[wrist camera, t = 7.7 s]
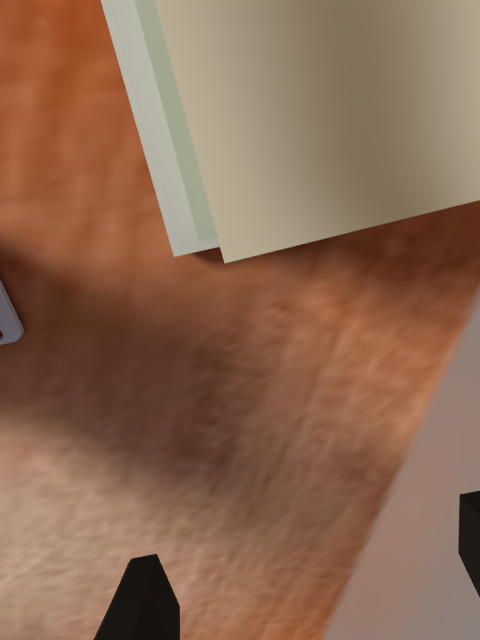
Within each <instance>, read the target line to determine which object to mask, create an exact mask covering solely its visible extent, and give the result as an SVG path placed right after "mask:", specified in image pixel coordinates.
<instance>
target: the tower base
mask: <svg viewBox="0 0 480 640" xmlns="http://www.w3.org/2000/svg"><path fill="white" fill-rule="evenodd" d="M101 3H102V6H103V10H104V13H105V17H106V20H107V24H108V27H109V31H110V34H111V38H112V41H113V45H114V48H115V52H116V55H117V59H118V62H119V66H120V69H121V73H122V76H123V80H124V83H125V87H126V90H127V94H128V97H129V101H130V104H131V108H132V111H133V115H134V118H135V122H136V125H137V129H138V132H139V136H140V139H141V143H142V146H143V150H144V153H145V157H146V160H147V164H148V167H149V171H150V174H151V178H152V181H153V185H154V188H155V192H156V195H157V199H158V202H159V206H160V209H161V213H162V216H163V220H164V223H165V227H166V230H167V234H168V237H169V241H170V244H171V248H172V251H173V255H174V257H175V256H180V255H184V254H189V253H194V252H198V251H203V250H207V249H212V248H216V247H220V245H219V241H218V237H217V238H213V239H209V240H204V241H200V242H199V239H198V236H197V232H196V228H195V225H194V221H193V217H192V213H191V210H190V206H189V202H188V198H187V195H186V191H185V187H184V183H183V180H182V176H181V172H180V169H179V165H178V161H177V157H176V154H175V150H174V146H173V142H172V139H171V135H170V131H169V128H168V124H167V120H166V116H165V113H164V109H163V105H162V101H161V98H160V94H159V90H158V86H157V83H156V79H155V75H154V72H153V68H152V64H151V60H150V57H149V53H148V49H147V45H146V42H145V38H144V34H143V30H142V27H141V23H140V19H139V16H138V12H137V8H136V4H135V1H134V0H101Z"/></svg>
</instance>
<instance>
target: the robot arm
mask: <svg viewBox="0 0 480 640" xmlns="http://www.w3.org/2000/svg"><path fill="white" fill-rule="evenodd" d="M0 331H1V332H2V333H3V336H0V345H3V344H8V343H12V342H15V341H17V340H18V339H19V338H20V337H21V336H22V335H23V332H24V330H23V326H22V324H21V322H20V320H19V318H18V316H17V314H16V311H15V309H14V307H13V305H12V303H11V301H10V299H9V297H8V295H7V293H6V291H5V289H4V286H3V284H2V282H1V280H0ZM459 508H460V509H459V511H460V512H459V551H458V552H459V555H460V557H461V559H462V561H463V564H464V566H465V568H466V570H467V572H468V574H469V576H470V578H471V580H472V583H473V585H474V587H475V588H476V591H477V593H478V595H479V597H480V491H476V492H471V493H466V494H461V495H460V507H459ZM94 640H180V606H179V603H178V601H177V599H176V596H175V594H174V592H173V590H172V587H171V585H170V583H169V581H168V578H167V576H166V574H165V572H164V569H163V567H162V565H161V563H160V560H159V558H158V556H157V554H153V555H148V556H143V557H138V558H133V559H131V560H130V562H129V563H128V566H127V568H126V570H125V572H124V575H123V577H122V579H121V582H120V584H119V586H118V588H117V591H116V593H115V595H114V597H113V599H112V602H111V604H110V606H109V608H108V610H107V613H106V615H105V617H104V619H103V621H102V623H101V625H100V628H99V630H98V632H97V634H96V636H95V638H94Z"/></svg>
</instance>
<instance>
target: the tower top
mask: <svg viewBox="0 0 480 640" xmlns="http://www.w3.org/2000/svg"><path fill="white" fill-rule="evenodd" d="M134 1H135V4H136V8H137V12H138V16H139V19H140V23H141V27H142V30H143V34H144V38H145V42H146V45H147V49H148V53H149V57H150V60H151V64H152V68H153V72H154V75H155V79H156V83H157V86H158V90H159V94H160V98H161V101H162V105H163V109H164V113H165V116H166V120H167V124H168V128H169V131H170V135H171V139H172V142H173V146H174V150H175V154H176V157H177V161H178V165H179V169H180V172H181V176H182V180H183V183H184V187H185V191H186V195H187V198H188V202H189V206H190V210H191V213H192V217H193V221H194V225H195V228H196V232H197V236H198V239H199V242H200V241H204V240H209V239H213V238H217V234H216V230H215V226H214V222H213V219H212V215H211V211H210V207H209V203H208V200H207V196H206V192H205V188H204V185H203V181H202V177H201V173H200V170H199V166H198V162H197V158H196V155H195V151H194V147H193V143H192V140H191V136H190V132H189V128H188V125H187V121H186V117H185V113H184V110H183V106H182V102H181V98H180V94H179V91H178V87H177V83H176V79H175V76H174V72H173V68H172V64H171V61H170V57H169V53H168V49H167V46H166V42H165V38H164V34H163V31H162V27H161V23H160V19H159V16H158V12H157V8H156V4H155V1H154V0H134Z"/></svg>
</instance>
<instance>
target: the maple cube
mask: <svg viewBox="0 0 480 640" xmlns="http://www.w3.org/2000/svg"><path fill="white" fill-rule="evenodd" d="M154 1H155V4H156V8H157V12H158V16H159V19H160V23H161V27H162V31H163V34H164V38H165V42H166V46H167V49H168V53H169V57H170V61H171V64H172V68H173V72H174V76H175V79H176V83H177V87H178V91H179V94H180V98H181V102H182V106H183V110H184V113H185V117H186V121H187V125H188V128H189V132H190V136H191V140H192V143H193V147H194V151H195V155H196V158H197V162H198V166H199V170H200V173H201V177H202V181H203V185H204V188H205V192H206V196H207V200H208V203H209V207H210V211H211V215H212V219H213V222H214V226H215V230H216V234H217V237H218V241H219V245H220V249H221V252H222V256H223V260H224V263H228V262H232V261H236V260H240V259H245V258H249V257H253V256H257V255H261V254H265V253H269V252H273V251H277V250H281V249H285V248H289V247H293V246H297V245H301V244H305V243H309V242H313V241H317V240H321V239H325V238H329V237H333V236H337V235H341V234H345V233H349V232H353V231H357V230H361V229H365V228H369V227H373V226H377V225H381V224H385V223H390V222H394V221H398V220H402V219H406V218H410V217H414V216H418V215H422V214H426V213H430V212H434V211H438V210H442V209H446V208H450V207H454V206H458V205H462V204H466V203H470V202H474V201H478V200H480V0H154Z"/></svg>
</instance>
